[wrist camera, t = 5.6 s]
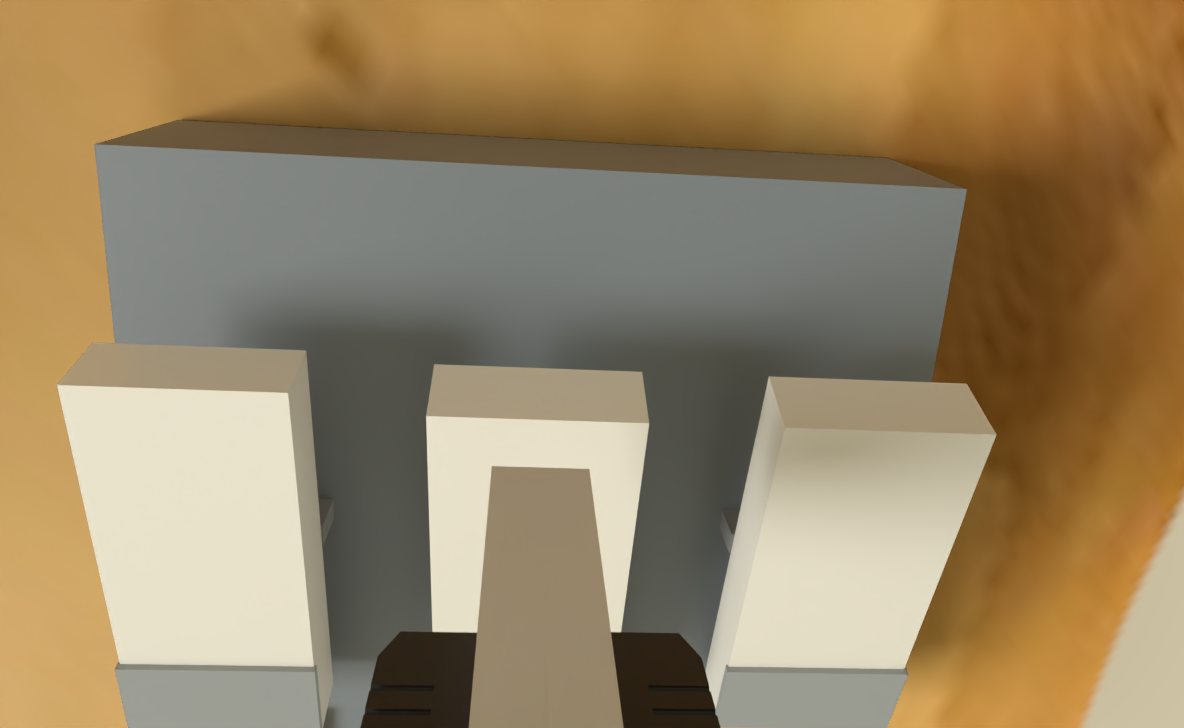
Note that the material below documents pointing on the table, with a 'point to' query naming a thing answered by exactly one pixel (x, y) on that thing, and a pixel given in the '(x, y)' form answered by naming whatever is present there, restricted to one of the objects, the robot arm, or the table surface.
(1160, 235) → the table surface
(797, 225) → the switch unit
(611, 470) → the switch
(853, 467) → the switch
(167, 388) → the switch
